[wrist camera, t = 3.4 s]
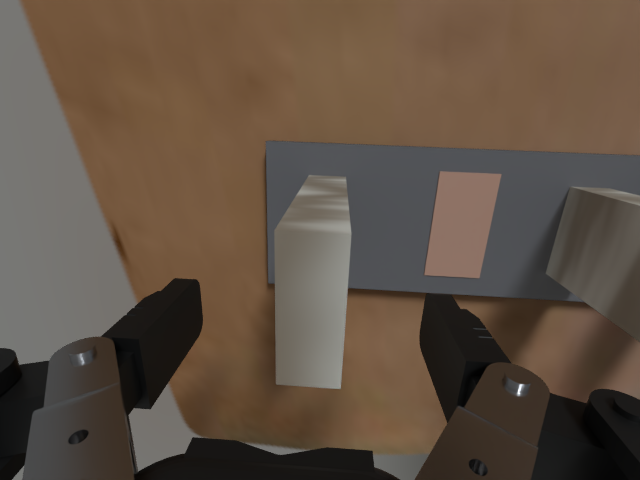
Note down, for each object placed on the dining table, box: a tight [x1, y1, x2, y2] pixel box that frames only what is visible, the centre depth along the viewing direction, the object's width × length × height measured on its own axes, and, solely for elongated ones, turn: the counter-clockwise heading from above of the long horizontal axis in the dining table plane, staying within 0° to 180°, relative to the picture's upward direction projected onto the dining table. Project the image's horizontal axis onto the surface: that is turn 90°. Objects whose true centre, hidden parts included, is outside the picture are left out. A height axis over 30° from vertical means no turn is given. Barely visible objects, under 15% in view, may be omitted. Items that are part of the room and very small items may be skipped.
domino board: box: [266, 141, 640, 302], centre depth 22 cm, size 48×10×1 cm, turn 88°
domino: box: [274, 175, 351, 389], centre depth 17 cm, size 2×6×12 cm, turn 178°
